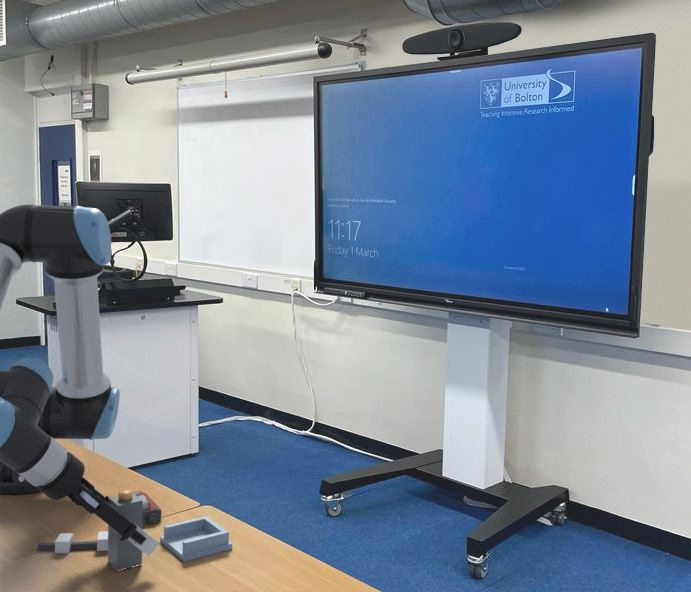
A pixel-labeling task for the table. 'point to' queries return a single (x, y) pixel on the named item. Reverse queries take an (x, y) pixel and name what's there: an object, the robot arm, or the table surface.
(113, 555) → the grey post with ball
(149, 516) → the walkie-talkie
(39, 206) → the robot arm
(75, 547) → the cable run
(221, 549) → the tray
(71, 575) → the table surface
